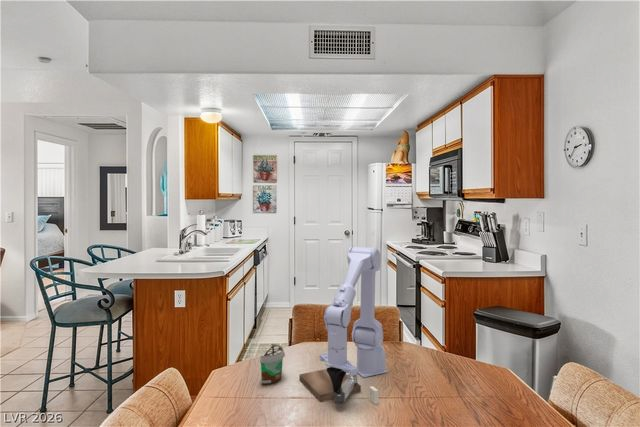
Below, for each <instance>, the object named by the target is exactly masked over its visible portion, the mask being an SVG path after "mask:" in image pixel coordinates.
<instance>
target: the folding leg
mask: <svg viewBox="0 0 640 427" xmlns="http://www.w3.org/2000/svg"><path fill="white" fill-rule="evenodd" d="M357 383H358V375H357V374H356V375H354V376H350V375H349V374H347V379H346V381H345V382H344V383H343V385H342V386H341V387H340V389H339V390H338V391H337V392H335V393H334V400H333V402H334V403H335V404H338V405H342V404H344V403H345V401H346V399H348V396H349V393H350V392H351V390H352V389H353V388H354V386H356V385H357Z"/></svg>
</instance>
